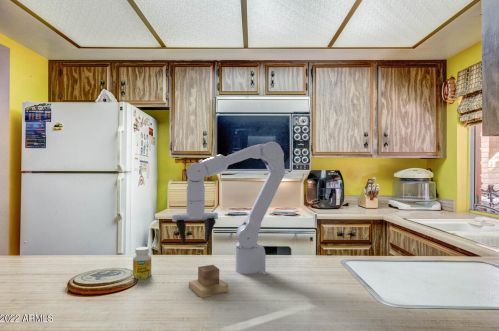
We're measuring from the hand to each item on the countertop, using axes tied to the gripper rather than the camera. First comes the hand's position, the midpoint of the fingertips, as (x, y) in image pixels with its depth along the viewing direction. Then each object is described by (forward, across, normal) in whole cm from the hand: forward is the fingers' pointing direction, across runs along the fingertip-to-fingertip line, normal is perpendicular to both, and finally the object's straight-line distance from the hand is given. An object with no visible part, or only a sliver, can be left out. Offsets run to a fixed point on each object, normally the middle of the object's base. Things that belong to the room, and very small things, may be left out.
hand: (195, 242), depth 100 cm
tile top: (+9, 0, +16) cm, 19 cm away
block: (+8, 0, +16) cm, 18 cm away
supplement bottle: (+11, +16, -2) cm, 19 cm away
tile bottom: (+11, 0, +16) cm, 20 cm away
